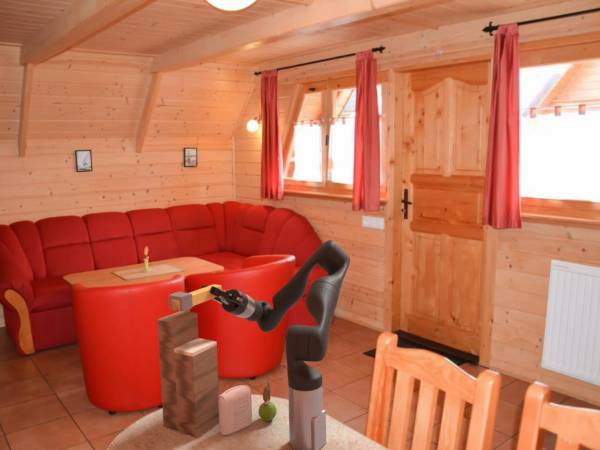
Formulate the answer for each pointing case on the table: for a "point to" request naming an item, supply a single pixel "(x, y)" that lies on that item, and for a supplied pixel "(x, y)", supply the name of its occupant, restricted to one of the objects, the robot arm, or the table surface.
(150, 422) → the table surface
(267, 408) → the green bud vase
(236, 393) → the pink rounded block
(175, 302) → the bar
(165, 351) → the step stand
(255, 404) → the table surface
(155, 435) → the table surface
